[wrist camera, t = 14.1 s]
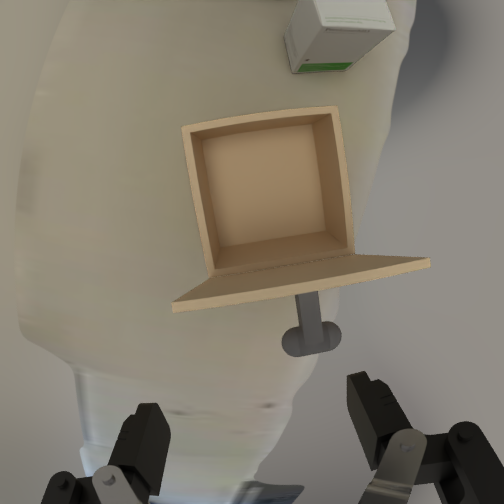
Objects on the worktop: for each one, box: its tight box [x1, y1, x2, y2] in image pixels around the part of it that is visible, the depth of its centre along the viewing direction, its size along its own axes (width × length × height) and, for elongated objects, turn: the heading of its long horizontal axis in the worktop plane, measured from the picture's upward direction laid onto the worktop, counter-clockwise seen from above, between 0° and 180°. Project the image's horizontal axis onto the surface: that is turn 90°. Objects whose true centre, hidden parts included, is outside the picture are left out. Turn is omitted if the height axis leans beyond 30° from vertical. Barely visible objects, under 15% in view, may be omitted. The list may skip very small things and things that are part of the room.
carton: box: [181, 106, 355, 278], centre depth 36 cm, size 16×16×10 cm
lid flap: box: [172, 254, 431, 357], centre depth 25 cm, size 16×16×5 cm
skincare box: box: [284, 0, 396, 73], centre depth 28 cm, size 8×7×16 cm
